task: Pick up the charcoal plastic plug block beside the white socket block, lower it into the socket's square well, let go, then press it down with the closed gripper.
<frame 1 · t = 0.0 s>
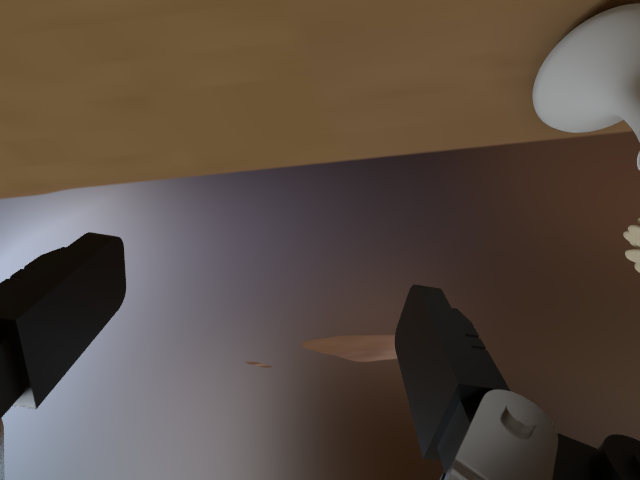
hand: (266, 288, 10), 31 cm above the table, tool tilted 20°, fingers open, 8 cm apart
flower in vase: (588, 75, 35), on the table
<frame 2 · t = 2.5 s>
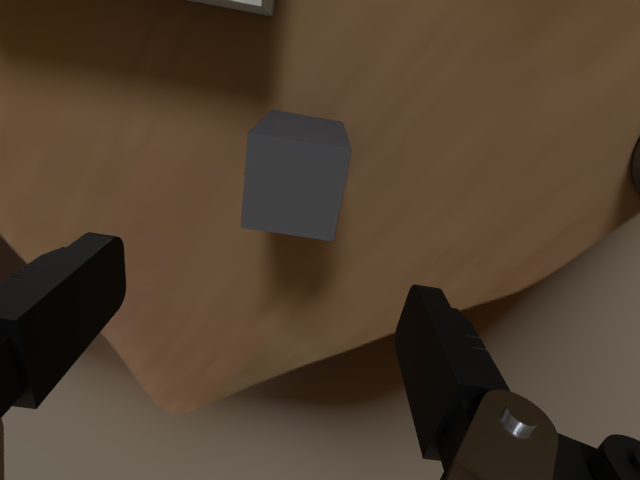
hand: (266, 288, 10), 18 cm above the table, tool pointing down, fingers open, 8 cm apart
plug: (302, 151, 27), on the table
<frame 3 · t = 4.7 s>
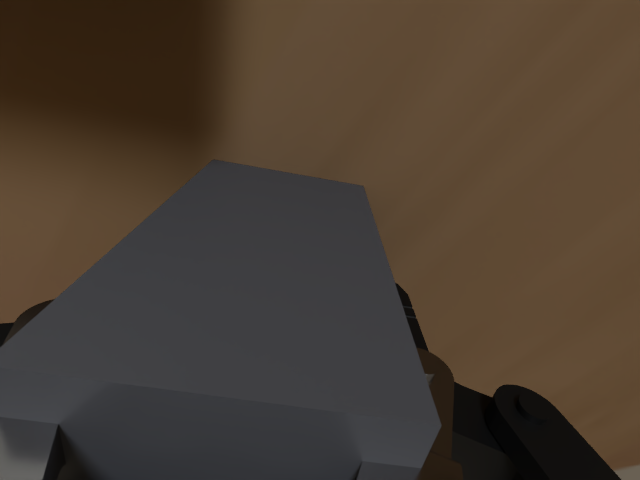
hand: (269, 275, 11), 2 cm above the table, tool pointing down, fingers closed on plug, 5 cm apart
plug: (279, 240, 13), on the table, touching gripper
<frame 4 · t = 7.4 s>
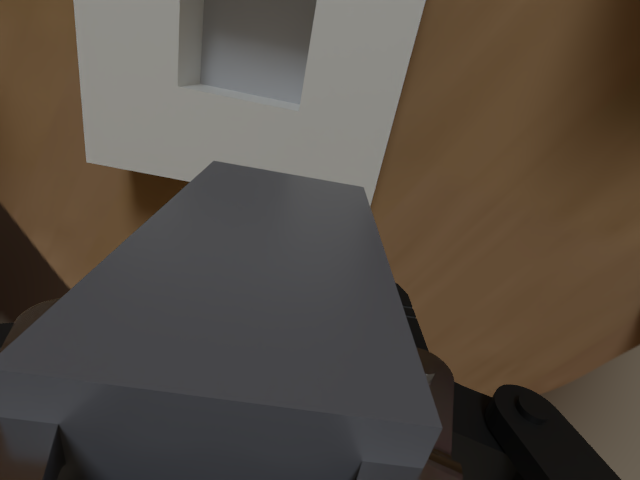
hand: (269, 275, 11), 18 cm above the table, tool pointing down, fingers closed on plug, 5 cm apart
plug: (279, 240, 13), point 16 cm above the table, touching gripper
socket: (260, 37, 24), on the table
when the fingers open (6 cm above the table, at t = 10.0 s): plug drops 2 cm, resting on socket.
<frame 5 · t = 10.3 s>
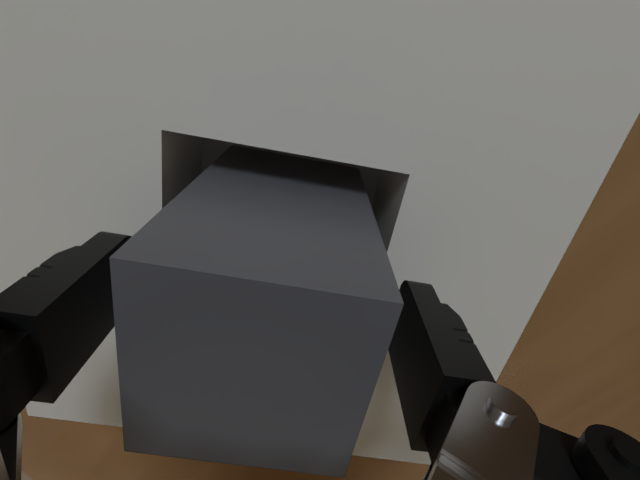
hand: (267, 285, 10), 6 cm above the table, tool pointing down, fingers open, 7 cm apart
plug: (286, 215, 15), point 1 cm above the table, touching socket
socket: (287, 205, 16), on the table
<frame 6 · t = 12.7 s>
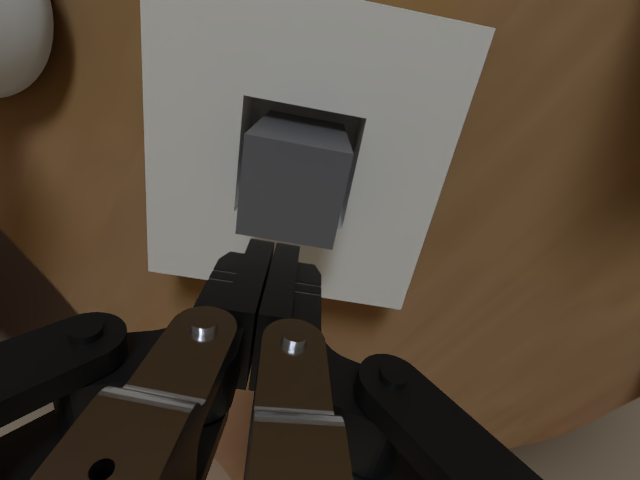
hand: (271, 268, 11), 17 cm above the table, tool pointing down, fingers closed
plug: (301, 153, 26), point 1 cm above the table, touching socket
socket: (301, 149, 27), on the table
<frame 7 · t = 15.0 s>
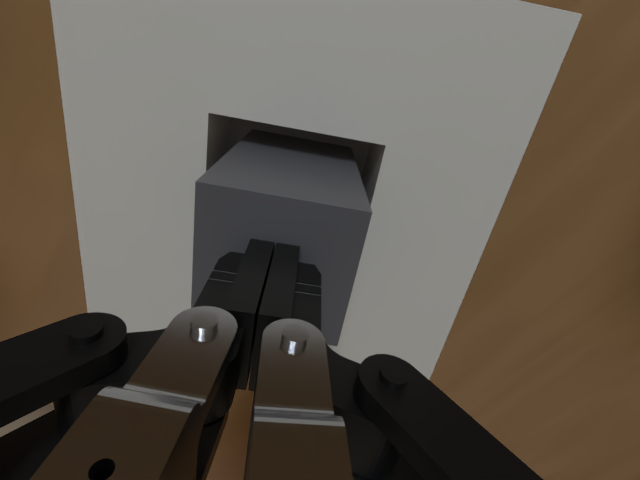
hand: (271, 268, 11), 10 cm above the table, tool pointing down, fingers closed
plug: (294, 185, 19), point 1 cm above the table, touching gripper, socket
socket: (294, 178, 20), on the table
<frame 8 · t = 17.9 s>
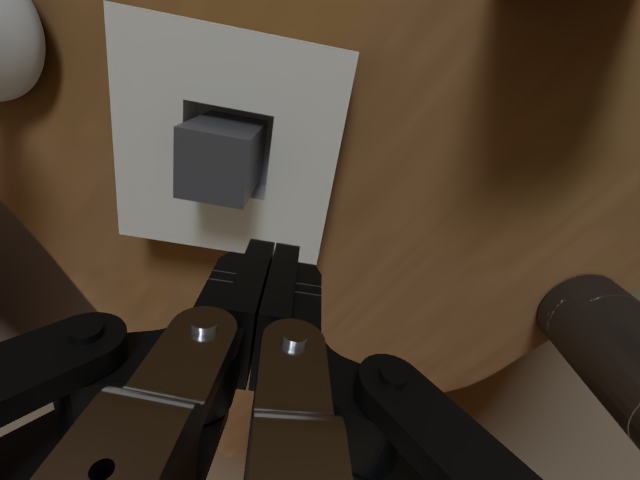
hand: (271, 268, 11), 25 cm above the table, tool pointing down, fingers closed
plug: (237, 143, 33), point 1 cm above the table, touching socket
socket: (238, 140, 34), on the table
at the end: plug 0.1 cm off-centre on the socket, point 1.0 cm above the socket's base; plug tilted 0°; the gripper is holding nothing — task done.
